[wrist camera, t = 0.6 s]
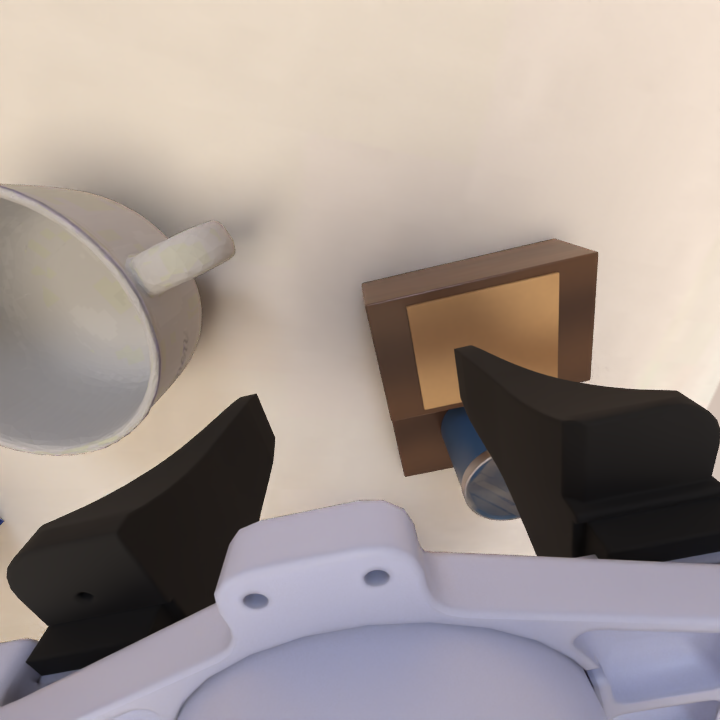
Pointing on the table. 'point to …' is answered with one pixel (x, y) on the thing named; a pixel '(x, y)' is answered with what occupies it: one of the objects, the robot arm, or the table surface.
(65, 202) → the teacup
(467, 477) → the tea tin
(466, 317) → the step shelf
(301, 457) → the table surface
